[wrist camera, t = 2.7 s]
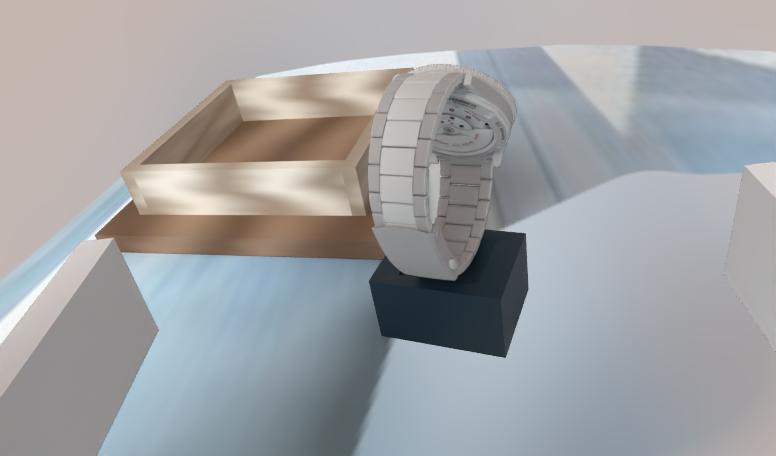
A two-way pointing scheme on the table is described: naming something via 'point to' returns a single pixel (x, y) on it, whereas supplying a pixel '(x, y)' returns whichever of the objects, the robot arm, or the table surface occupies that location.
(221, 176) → the board
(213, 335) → the table surface
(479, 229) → the watch
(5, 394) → the robot arm
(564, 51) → the table surface
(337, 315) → the table surface
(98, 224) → the table surface
